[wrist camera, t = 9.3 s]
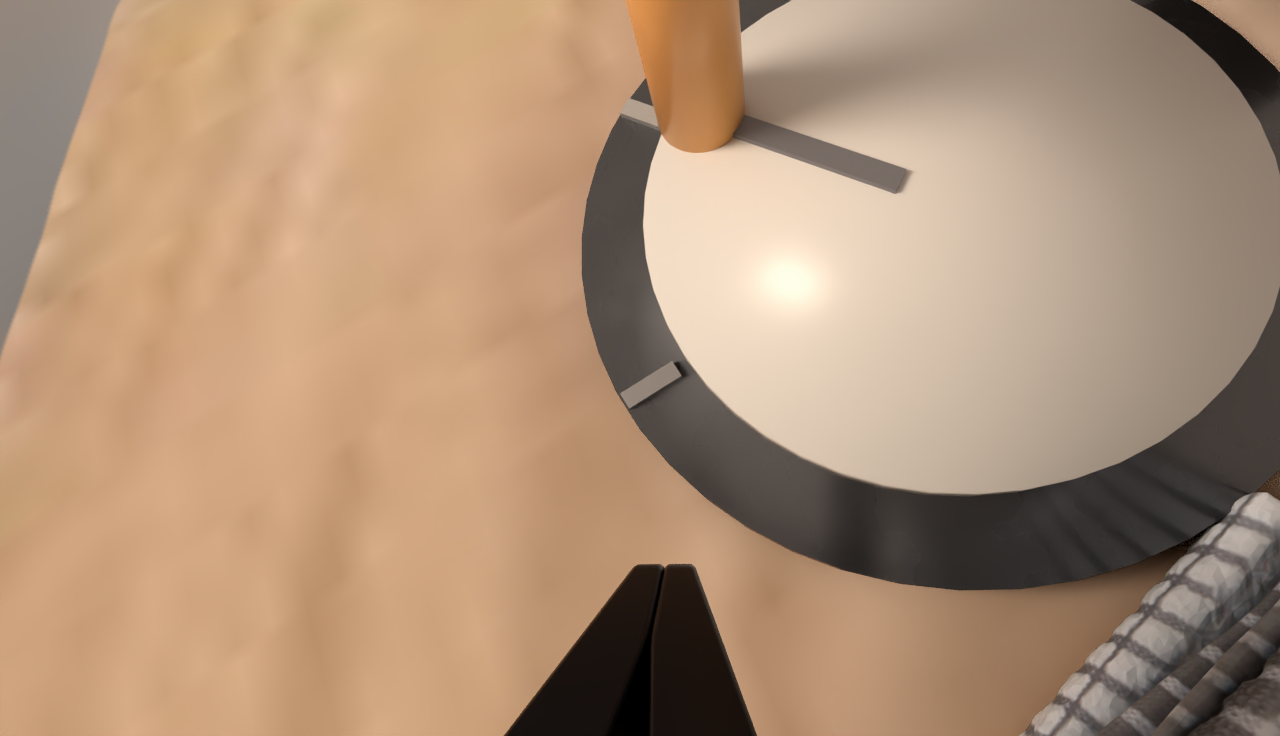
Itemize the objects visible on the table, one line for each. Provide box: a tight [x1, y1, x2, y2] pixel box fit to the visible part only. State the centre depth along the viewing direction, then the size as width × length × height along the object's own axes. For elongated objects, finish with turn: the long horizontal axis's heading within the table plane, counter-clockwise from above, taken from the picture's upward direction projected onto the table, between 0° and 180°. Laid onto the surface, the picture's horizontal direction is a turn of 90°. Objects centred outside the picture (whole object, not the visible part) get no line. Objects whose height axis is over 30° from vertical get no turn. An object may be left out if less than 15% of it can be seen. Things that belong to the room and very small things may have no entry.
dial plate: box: [582, 0, 1280, 590], centre depth 21 cm, size 23×23×2 cm
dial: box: [626, 0, 1280, 497], centre depth 14 cm, size 18×18×13 cm
